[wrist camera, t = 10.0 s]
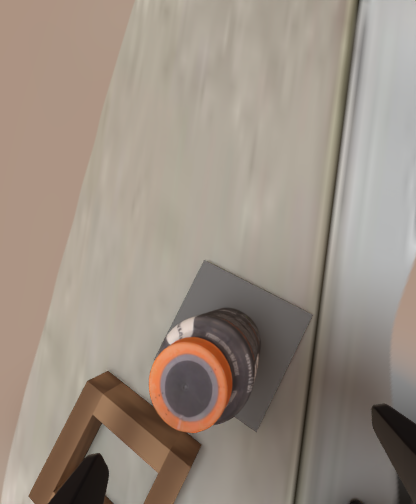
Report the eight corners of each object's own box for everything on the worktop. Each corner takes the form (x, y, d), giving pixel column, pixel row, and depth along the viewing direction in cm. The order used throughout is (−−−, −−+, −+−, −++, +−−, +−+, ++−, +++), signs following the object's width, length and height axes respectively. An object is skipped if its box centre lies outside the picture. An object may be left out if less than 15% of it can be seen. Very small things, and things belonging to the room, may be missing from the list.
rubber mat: (310, 313, 21) (312, 314, 20) (257, 424, 21) (256, 432, 20) (207, 261, 25) (204, 260, 24) (159, 356, 24) (154, 359, 23)
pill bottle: (192, 314, 23) (120, 333, 12) (251, 300, 22) (229, 307, 11) (206, 380, 22) (139, 466, 11) (270, 369, 20) (267, 453, 10)
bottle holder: (201, 444, 22) (190, 467, 19) (142, 565, 22) (122, 607, 19) (107, 370, 26) (87, 380, 23) (55, 472, 25) (28, 495, 22)
